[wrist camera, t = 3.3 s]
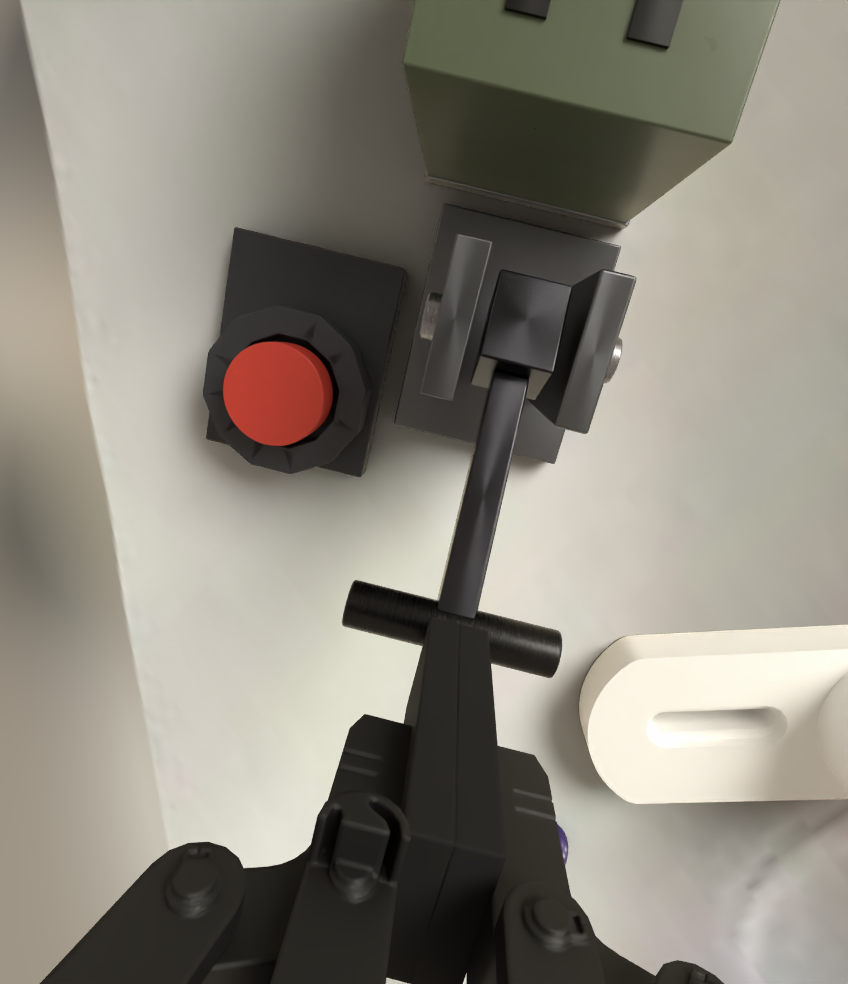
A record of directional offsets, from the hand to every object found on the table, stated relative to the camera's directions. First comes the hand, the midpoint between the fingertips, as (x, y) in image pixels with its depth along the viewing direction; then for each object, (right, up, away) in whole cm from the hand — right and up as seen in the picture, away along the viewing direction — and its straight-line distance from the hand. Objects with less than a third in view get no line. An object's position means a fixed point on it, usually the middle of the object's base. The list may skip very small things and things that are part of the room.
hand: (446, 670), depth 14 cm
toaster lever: (+1, +5, +4) cm, 6 cm away
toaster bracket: (+3, +12, +13) cm, 18 cm away
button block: (-6, +11, +13) cm, 19 cm away
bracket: (+18, -7, +17) cm, 25 cm away
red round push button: (-7, +9, +11) cm, 16 cm away
